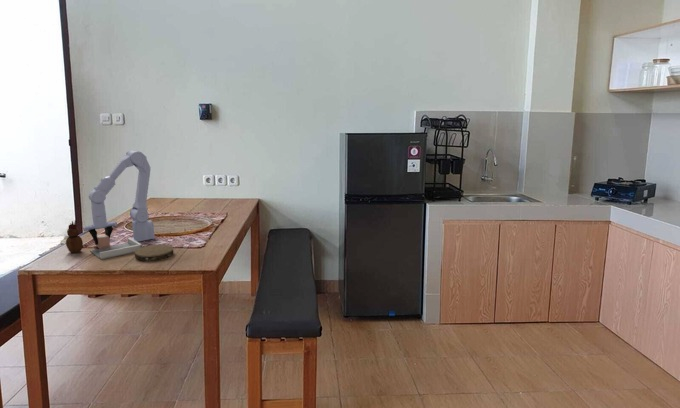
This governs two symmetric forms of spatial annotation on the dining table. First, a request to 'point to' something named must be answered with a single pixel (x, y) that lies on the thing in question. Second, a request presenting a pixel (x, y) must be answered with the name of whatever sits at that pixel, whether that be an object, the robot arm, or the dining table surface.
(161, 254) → the wooden log slice
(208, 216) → the dining table surface
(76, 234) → the wooden figurine
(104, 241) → the terracotta block
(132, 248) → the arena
